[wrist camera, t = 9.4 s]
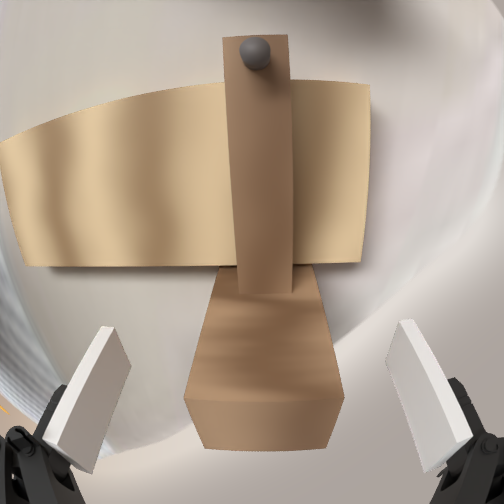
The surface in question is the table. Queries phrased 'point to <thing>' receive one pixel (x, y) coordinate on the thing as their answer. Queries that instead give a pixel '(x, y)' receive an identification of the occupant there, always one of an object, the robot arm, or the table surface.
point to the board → (181, 179)
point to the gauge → (263, 282)
